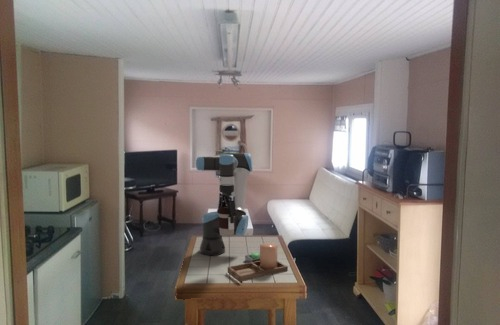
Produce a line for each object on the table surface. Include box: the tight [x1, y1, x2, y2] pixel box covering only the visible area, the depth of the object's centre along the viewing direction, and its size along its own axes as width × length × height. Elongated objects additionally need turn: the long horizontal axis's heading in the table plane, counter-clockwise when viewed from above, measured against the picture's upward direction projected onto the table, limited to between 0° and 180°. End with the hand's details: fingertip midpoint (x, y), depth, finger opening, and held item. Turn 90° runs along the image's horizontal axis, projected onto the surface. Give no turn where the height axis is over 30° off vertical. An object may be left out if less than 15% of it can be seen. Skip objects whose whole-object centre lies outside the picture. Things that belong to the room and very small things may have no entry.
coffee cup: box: [216, 205, 235, 237], centre depth 200 cm, size 10×10×15 cm
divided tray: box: [227, 260, 289, 284], centre depth 195 cm, size 14×27×3 cm, turn 119°
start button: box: [250, 252, 260, 259], centre depth 208 cm, size 5×5×3 cm
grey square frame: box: [244, 253, 260, 263], centre depth 208 cm, size 8×8×4 cm
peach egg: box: [259, 242, 279, 270], centre depth 198 cm, size 9×9×12 cm
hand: (226, 226), depth 200 cm, fingers closed on coffee cup, 10 cm apart
